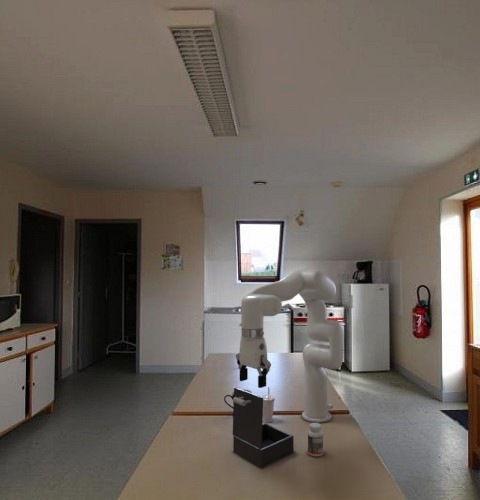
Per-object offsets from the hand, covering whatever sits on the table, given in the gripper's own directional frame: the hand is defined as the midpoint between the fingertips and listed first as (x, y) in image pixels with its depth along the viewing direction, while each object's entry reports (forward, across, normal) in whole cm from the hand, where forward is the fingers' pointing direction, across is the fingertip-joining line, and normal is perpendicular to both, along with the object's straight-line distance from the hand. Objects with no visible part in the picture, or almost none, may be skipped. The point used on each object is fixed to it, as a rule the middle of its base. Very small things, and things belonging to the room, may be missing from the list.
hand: (252, 383), depth 129 cm
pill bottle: (+26, -11, -20) cm, 35 cm away
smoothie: (+26, +22, -27) cm, 43 cm away
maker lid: (+12, +2, 0) cm, 12 cm away
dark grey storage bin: (+26, +2, -7) cm, 27 cm away
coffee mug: (+26, +34, -21) cm, 48 cm away
